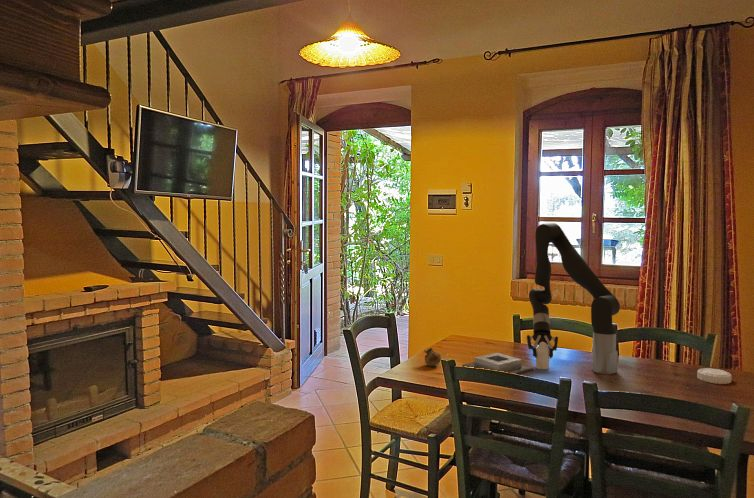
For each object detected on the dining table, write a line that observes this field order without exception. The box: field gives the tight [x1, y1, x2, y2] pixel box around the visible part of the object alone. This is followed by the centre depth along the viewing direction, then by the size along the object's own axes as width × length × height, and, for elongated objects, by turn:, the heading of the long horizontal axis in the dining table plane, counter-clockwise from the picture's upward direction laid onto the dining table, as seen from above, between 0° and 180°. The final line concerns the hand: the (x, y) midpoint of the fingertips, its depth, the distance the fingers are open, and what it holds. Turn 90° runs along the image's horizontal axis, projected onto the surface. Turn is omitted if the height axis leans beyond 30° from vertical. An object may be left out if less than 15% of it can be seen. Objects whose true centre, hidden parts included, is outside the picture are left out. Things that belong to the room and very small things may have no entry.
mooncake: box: [696, 367, 732, 385], centre depth 223 cm, size 12×12×4 cm
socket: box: [461, 352, 535, 375], centre depth 240 cm, size 22×22×4 cm
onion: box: [423, 347, 442, 367], centre depth 244 cm, size 8×8×8 cm
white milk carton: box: [535, 342, 550, 370], centre depth 240 cm, size 6×12×6 cm
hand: (543, 357), depth 239 cm, fingers closed on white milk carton, 6 cm apart
